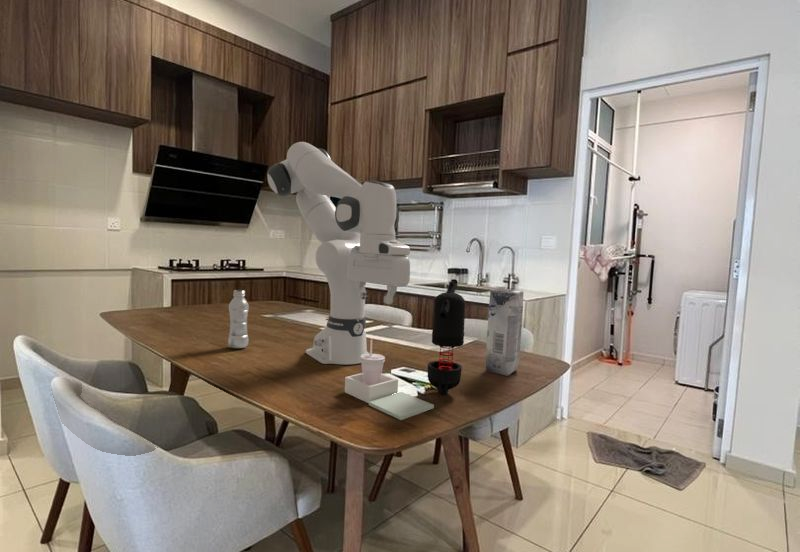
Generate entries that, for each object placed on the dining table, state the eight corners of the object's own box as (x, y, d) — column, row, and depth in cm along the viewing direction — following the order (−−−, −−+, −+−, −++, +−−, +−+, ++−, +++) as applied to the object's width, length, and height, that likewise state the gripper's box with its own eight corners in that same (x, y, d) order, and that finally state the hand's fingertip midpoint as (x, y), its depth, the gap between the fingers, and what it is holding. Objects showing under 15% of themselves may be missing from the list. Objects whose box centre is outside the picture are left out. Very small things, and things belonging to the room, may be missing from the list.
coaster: (368, 405, 101) (368, 401, 101) (401, 394, 108) (401, 391, 108) (401, 420, 93) (401, 416, 93) (433, 408, 101) (433, 404, 101)
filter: (431, 384, 118) (437, 277, 115) (463, 389, 115) (470, 279, 113) (418, 401, 105) (424, 281, 102) (454, 407, 102) (462, 283, 100)
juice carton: (520, 370, 136) (526, 286, 134) (509, 378, 127) (516, 288, 125) (494, 364, 141) (499, 284, 138) (482, 371, 132) (487, 286, 130)
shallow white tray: (344, 392, 109) (345, 376, 108) (372, 384, 115) (373, 370, 115) (368, 403, 102) (369, 387, 101) (397, 394, 108) (398, 379, 108)
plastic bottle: (252, 347, 147) (253, 290, 146) (235, 351, 141) (236, 292, 140) (240, 344, 151) (241, 289, 149) (223, 348, 145) (224, 290, 143)
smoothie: (368, 387, 113) (370, 335, 112) (388, 392, 110) (390, 339, 109) (353, 394, 107) (355, 340, 106) (374, 400, 104) (376, 344, 103)
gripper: (342, 244, 111) (340, 297, 112) (396, 247, 96) (393, 307, 97) (360, 245, 115) (358, 295, 116) (415, 248, 101) (412, 305, 102)
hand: (375, 301), depth 107 cm, fingers open, 8 cm apart
